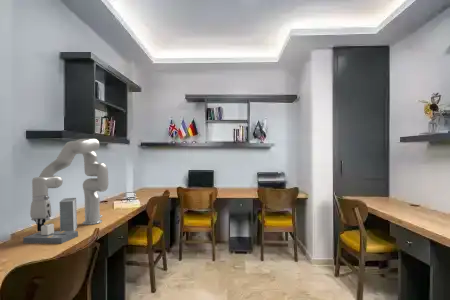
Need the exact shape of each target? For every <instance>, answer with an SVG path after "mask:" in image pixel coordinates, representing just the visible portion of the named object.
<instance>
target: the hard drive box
mask: <svg viewBox="0 0 450 300" xmlns="http://www.w3.org/2000/svg"><path fill="white" fill-rule="evenodd" d="M77 228H78V214H77V197H69V198H68V197H67V198H63V199H62V200H60V201H59V231H77Z"/></svg>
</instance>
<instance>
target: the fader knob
mask: <svg viewBox="0 0 450 300" xmlns="http://www.w3.org/2000/svg"><path fill="white" fill-rule="evenodd" d="M54 231H55V224H54V223H52V222H50V223H46V224H44V225H43V226H41V231H40V232H41V235H49V234H52V233H54Z"/></svg>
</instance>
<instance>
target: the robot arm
mask: <svg viewBox="0 0 450 300" xmlns="http://www.w3.org/2000/svg"><path fill="white" fill-rule="evenodd" d="M98 149H100V141H99V140H98V139H97V138H80V139H77V140H71V141H67V142H66V143H65V144H64V145H63V147H62V149H61V150H60V152H59V154H58V155H57V157H56V159H55V160H53V161H51V162H50V163H49V164H48V165H46V167H45V168H43V170H42V171H41V173H40V174H39V175H38V176H37V177H35V176H34V177H33V178H32V180H31V181H32V182H31V187H32V190H31V191H32V195H31V196H32V201H31V204H30V213H29V214H30V218H31V219H30V220H31V221H32V222H35V224H36V227H37V228H36V229H37V232H41V226H43V225H45V223H46V222H47V221H50V220H51V218H50V217H52V206H51V201H50V200H49V199H50V196H49V189H57V188H60V187H61V186H62V185H63V184H64V183H63V178H62V177H60V176H58V175H55V174H57V173H58V172H59V171H61V170H64V169H66V168H68V167H69V166H71V164H72V162H73V160H74V159H75V156H76V155H82V156H83V162H84V165H83V166H84V167H83V168H84V174H85V176H87V177H90V178H86V179H85V180H83V183H82V190H83V194H84V221H82V225H84V226H87V225H89V226H90V225H91V226H92V225H97V224H101V223H103V220H102V219H101V218H103V215H102V214H100V194H99V193H102V192H106V191H107V189H109V170H108V166H107V164H105V163H104V162H98V155H97V153H96V151H97V150H98ZM92 177H93V178H92ZM96 177H97V178H96Z"/></svg>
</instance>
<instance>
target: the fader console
mask: <svg viewBox="0 0 450 300" xmlns="http://www.w3.org/2000/svg"><path fill="white" fill-rule="evenodd" d="M78 237H79V231H78V230H75V231H60V230H54V233H52V234H49V235H41V231H37V232H35V233H33V234H30V235H27V236H24V237H23V238H22V239H23V240H22V243H23V244H64V243H66V242H68V241H70V240H73V239H76V238H78Z"/></svg>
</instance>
